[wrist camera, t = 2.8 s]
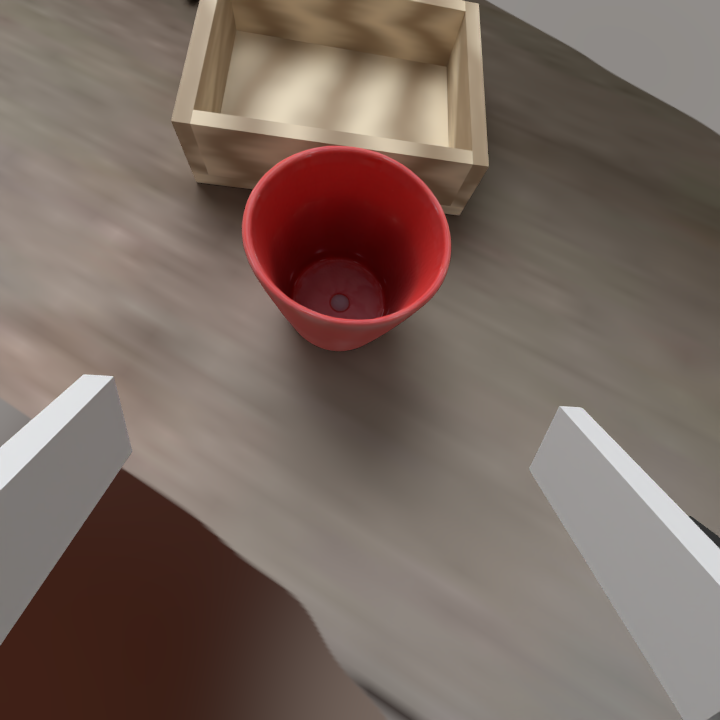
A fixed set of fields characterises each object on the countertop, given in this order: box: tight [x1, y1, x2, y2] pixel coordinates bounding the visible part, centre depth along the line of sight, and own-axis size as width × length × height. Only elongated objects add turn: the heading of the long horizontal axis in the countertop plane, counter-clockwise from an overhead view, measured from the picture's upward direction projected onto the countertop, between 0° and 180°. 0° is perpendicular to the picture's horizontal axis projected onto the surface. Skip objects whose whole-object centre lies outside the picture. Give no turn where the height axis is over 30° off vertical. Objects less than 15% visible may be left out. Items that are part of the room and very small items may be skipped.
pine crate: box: [171, 0, 489, 215], centre depth 30 cm, size 22×17×6 cm
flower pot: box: [242, 146, 451, 351], centre depth 23 cm, size 11×11×10 cm
